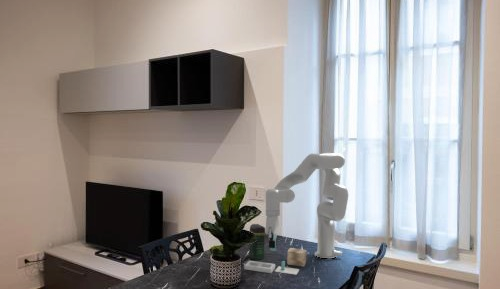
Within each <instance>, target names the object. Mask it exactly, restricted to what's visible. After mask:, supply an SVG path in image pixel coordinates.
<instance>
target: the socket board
mask: <svg viewBox="0 0 500 289" xmlns="http://www.w3.org/2000/svg"><path fill="white" fill-rule="evenodd" d="M243 270H244V271H248V270H249V271H255V272H261V273H266V274H267V273H268V274H273V271H275V270H276V263H271V262H262V261H257V260H248V261H247V262H246V264H244V268H243Z"/></svg>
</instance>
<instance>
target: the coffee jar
mask: <svg viewBox="0 0 500 289" xmlns="http://www.w3.org/2000/svg"><path fill="white" fill-rule="evenodd" d="M250 232H252V233H254V234H255V236H256V237H257V241H256V242H254V243H252V244H250V243H249V247H248V248H249V249H248V256H249V258H250V259H252V261H257V260H264V259H265V255H266V254H265V253H266V252H265V251H266V250H265V248H266V247H265V245H266V242H265V241H266V226H265V227H264V226H262V225H261V224H259V223H254V224H253V223H252V224H251V225H250V226H249V233H250Z"/></svg>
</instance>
